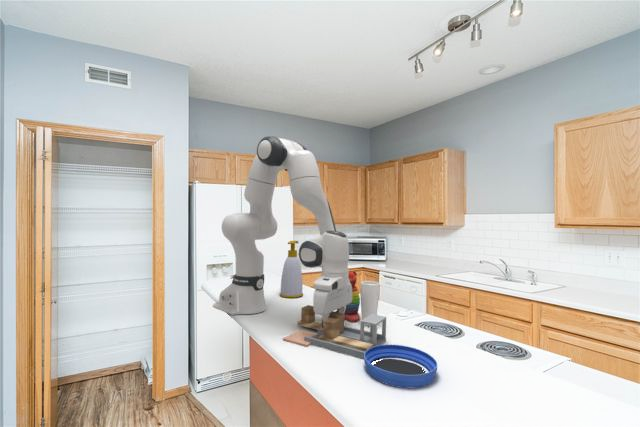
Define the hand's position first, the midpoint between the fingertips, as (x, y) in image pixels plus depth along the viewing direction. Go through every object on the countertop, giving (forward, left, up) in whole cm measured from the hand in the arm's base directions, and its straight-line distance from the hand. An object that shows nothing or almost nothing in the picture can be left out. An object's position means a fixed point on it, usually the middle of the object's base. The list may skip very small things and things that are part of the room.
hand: (334, 322), depth 108 cm
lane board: (+6, -4, -4) cm, 8 cm away
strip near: (+8, -7, -4) cm, 12 cm away
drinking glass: (+5, +17, -4) cm, 18 cm away
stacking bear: (-5, +19, -4) cm, 20 cm away
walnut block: (0, 0, -2) cm, 2 cm away
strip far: (-5, 0, -4) cm, 7 cm away
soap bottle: (-42, +33, -4) cm, 53 cm away
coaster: (-6, -9, -4) cm, 12 cm away
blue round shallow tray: (+26, -12, -4) cm, 29 cm away
